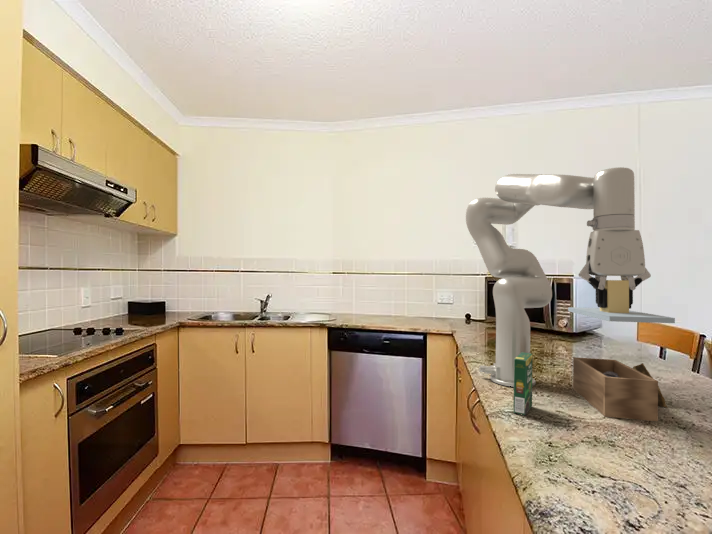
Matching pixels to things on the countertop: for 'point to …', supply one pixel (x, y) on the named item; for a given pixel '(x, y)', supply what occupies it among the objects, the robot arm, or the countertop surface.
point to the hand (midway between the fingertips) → (614, 306)
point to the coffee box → (523, 383)
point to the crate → (616, 389)
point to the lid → (619, 306)
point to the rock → (661, 399)
